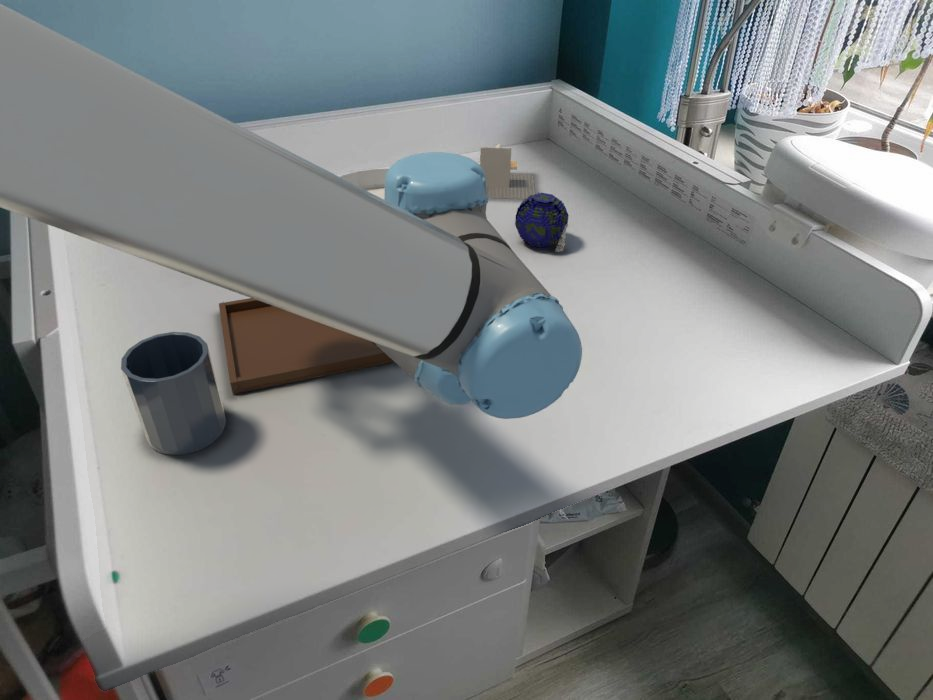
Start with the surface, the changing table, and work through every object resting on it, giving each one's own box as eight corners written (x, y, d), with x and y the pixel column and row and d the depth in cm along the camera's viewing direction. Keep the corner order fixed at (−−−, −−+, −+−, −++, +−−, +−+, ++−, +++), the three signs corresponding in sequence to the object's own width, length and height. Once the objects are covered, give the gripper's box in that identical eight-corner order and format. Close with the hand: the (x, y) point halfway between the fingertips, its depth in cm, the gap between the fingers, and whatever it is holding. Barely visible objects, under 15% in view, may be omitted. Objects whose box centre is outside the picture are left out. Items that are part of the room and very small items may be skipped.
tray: (232, 394, 81) (230, 383, 80) (221, 313, 94) (218, 303, 93) (396, 361, 86) (395, 350, 85) (363, 289, 100) (362, 279, 98)
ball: (571, 236, 114) (576, 192, 109) (558, 257, 108) (563, 212, 103) (524, 227, 116) (527, 184, 111) (509, 247, 110) (512, 203, 106)
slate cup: (146, 462, 72) (119, 388, 66) (146, 412, 78) (122, 340, 72) (229, 444, 74) (210, 371, 68) (222, 396, 80) (205, 326, 74)
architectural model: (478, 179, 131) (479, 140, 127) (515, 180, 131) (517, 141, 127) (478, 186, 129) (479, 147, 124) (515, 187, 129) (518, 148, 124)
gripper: (276, 366, 62) (179, 264, 76) (460, 289, 73) (345, 212, 87) (263, 295, 58) (162, 200, 71) (461, 224, 68) (340, 154, 82)
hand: (263, 207), depth 79 cm, fingers closed on terracotta cup, 8 cm apart
